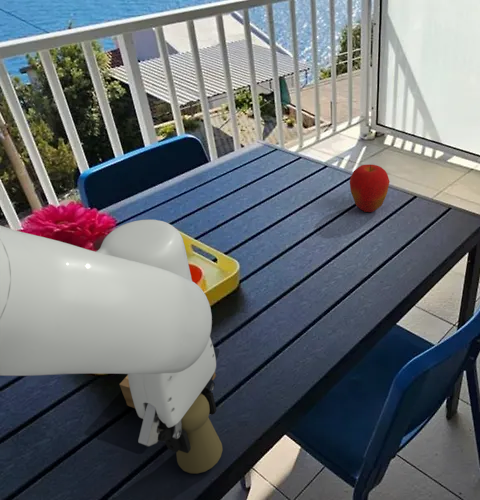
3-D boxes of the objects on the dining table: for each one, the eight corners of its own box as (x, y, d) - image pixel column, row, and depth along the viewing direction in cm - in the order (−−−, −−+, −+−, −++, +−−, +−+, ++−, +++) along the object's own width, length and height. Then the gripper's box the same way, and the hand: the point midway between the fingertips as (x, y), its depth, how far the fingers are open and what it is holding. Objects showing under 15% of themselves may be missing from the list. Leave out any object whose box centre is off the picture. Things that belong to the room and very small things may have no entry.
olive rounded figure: (216, 426, 71) (204, 376, 64) (227, 462, 67) (215, 413, 60) (173, 442, 69) (156, 392, 62) (181, 480, 65) (164, 431, 58)
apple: (388, 201, 124) (392, 157, 117) (385, 220, 117) (389, 174, 110) (351, 197, 125) (353, 153, 118) (346, 216, 118) (347, 170, 111)
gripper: (181, 273, 61) (203, 371, 72) (77, 378, 48) (123, 478, 59) (235, 288, 59) (250, 386, 70) (142, 401, 46) (178, 500, 57)
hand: (192, 427), depth 64 cm, fingers closed on olive rounded figure, 5 cm apart
